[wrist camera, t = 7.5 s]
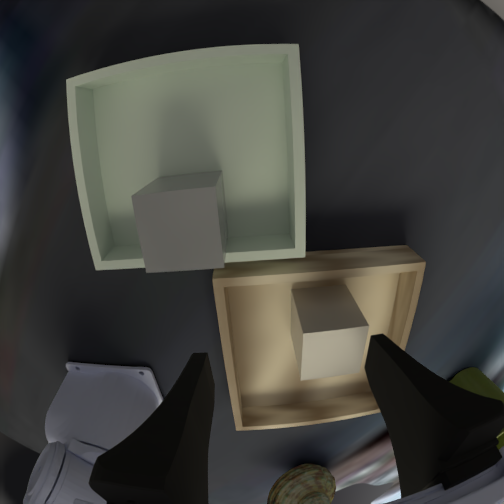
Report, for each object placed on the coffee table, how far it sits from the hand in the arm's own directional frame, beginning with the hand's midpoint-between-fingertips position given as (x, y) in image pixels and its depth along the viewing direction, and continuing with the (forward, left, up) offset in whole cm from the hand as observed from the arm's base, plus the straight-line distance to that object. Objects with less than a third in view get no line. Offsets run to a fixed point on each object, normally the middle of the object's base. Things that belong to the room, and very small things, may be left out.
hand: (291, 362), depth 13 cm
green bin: (-5, +8, -9) cm, 13 cm away
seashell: (+3, -33, -10) cm, 35 cm away
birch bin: (+3, -7, -9) cm, 12 cm away
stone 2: (+3, -3, -9) cm, 10 cm away
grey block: (-5, +5, -9) cm, 11 cm away
